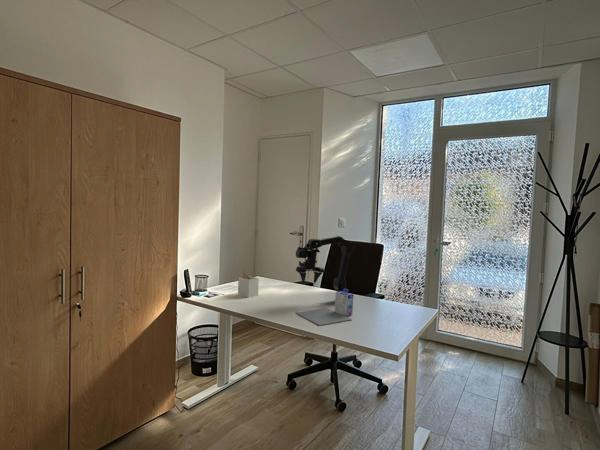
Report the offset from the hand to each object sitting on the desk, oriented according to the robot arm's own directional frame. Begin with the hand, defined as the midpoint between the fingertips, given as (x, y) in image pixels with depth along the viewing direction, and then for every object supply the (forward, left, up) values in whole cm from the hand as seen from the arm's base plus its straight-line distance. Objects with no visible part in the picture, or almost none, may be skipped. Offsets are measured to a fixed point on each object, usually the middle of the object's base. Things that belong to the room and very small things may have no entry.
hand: (308, 283), depth 226 cm
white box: (+26, -36, -14) cm, 47 cm away
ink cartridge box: (-8, +26, -14) cm, 30 cm away
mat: (+6, +26, -14) cm, 30 cm away
